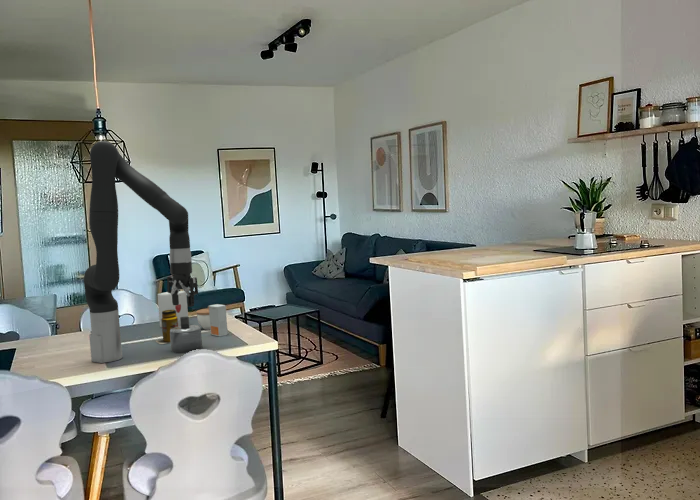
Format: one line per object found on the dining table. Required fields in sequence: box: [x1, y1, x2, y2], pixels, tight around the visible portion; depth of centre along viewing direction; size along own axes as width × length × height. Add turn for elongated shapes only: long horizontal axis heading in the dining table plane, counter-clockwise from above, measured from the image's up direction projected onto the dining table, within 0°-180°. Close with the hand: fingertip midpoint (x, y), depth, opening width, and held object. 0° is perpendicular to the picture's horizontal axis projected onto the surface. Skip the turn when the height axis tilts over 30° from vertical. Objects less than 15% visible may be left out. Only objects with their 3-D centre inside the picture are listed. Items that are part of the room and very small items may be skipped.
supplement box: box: [157, 290, 189, 329], centre depth 267 cm, size 9×9×15 cm
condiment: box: [155, 310, 178, 345], centre depth 237 cm, size 7×8×12 cm
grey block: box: [170, 327, 203, 354], centre depth 222 cm, size 11×11×7 cm
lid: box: [170, 315, 201, 333], centre depth 221 cm, size 11×11×5 cm
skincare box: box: [208, 303, 228, 338], centre depth 243 cm, size 6×4×12 cm
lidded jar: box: [196, 305, 211, 331], centre depth 258 cm, size 11×11×9 cm
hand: (183, 305), depth 220 cm, fingers open, 8 cm apart
